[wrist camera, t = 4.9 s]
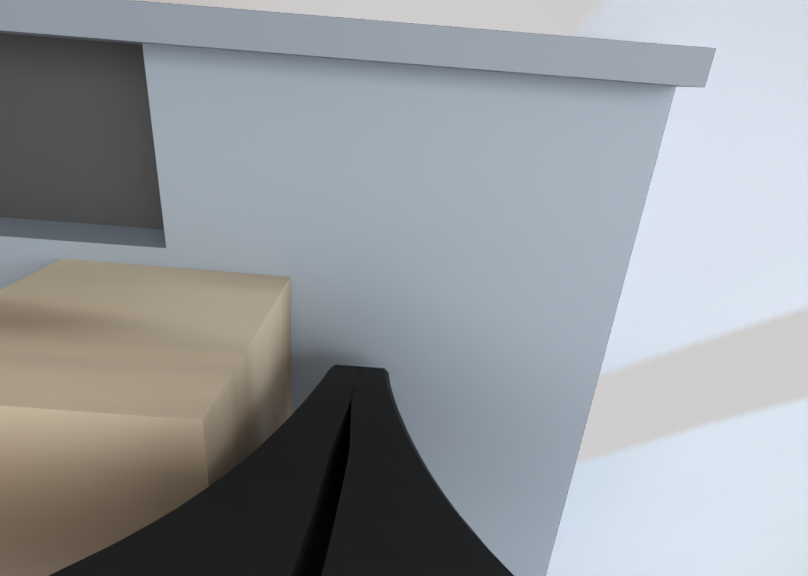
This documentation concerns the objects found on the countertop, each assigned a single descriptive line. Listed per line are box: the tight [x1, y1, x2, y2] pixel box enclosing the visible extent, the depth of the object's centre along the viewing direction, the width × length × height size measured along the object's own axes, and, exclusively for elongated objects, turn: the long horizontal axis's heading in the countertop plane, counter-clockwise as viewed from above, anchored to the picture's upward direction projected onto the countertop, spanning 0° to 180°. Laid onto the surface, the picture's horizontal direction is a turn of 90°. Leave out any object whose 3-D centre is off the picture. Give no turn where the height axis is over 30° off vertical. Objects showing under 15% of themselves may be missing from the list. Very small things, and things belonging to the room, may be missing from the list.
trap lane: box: [0, 0, 716, 576], centre depth 12 cm, size 15×24×4 cm, turn 86°
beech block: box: [0, 259, 292, 576], centre depth 10 cm, size 5×5×5 cm
